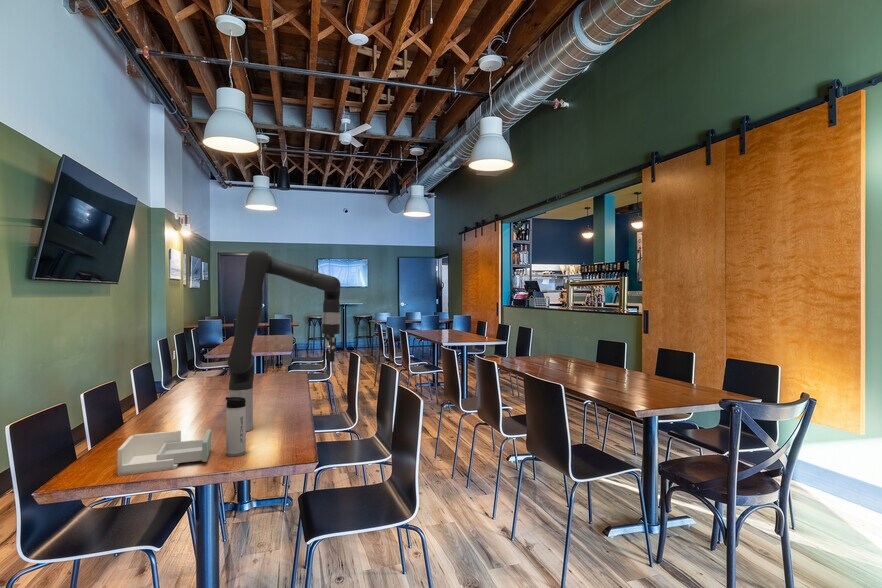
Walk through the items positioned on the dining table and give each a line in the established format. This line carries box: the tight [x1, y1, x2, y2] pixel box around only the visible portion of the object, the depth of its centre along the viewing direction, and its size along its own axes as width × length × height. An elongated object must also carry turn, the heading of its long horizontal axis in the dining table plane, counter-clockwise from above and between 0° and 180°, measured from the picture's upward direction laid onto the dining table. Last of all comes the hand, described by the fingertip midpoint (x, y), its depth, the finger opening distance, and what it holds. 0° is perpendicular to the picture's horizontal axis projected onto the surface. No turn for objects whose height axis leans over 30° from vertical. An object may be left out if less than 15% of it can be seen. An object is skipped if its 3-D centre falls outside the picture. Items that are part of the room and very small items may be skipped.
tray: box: [156, 428, 212, 464], centre depth 158 cm, size 15×17×6 cm
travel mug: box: [225, 396, 247, 458], centre depth 164 cm, size 6×7×20 cm
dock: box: [116, 429, 182, 477], centre depth 155 cm, size 16×17×8 cm
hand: (329, 360), depth 202 cm, fingers open, 8 cm apart
